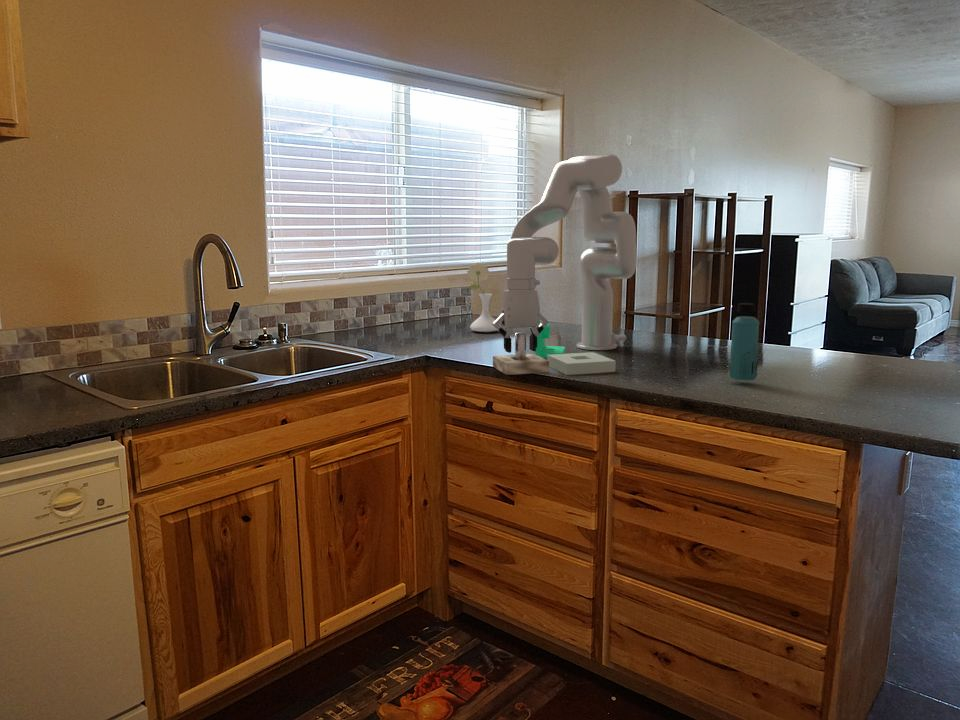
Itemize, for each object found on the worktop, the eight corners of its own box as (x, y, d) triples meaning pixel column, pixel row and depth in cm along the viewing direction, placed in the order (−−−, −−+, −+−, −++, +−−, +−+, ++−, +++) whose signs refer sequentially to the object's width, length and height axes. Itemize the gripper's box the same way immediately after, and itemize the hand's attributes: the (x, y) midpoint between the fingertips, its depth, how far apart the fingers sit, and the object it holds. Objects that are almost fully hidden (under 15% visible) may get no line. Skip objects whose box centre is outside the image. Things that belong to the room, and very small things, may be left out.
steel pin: (523, 368, 206) (523, 332, 204) (527, 370, 203) (527, 333, 201) (513, 368, 205) (513, 332, 203) (517, 370, 202) (517, 334, 200)
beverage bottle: (753, 387, 180) (758, 305, 176) (725, 384, 184) (729, 303, 180) (759, 382, 186) (764, 302, 182) (731, 379, 189) (736, 301, 185)
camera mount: (561, 362, 215) (562, 326, 213) (535, 361, 216) (535, 326, 214) (565, 355, 226) (565, 321, 224) (540, 354, 228) (540, 320, 226)
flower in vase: (505, 330, 276) (506, 262, 272) (493, 334, 266) (493, 264, 261) (473, 328, 282) (473, 261, 277) (460, 332, 271) (460, 263, 267)
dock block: (592, 362, 213) (593, 352, 212) (615, 371, 200) (615, 360, 199) (547, 365, 209) (547, 354, 209) (566, 375, 196) (567, 363, 195)
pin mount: (533, 364, 211) (533, 353, 211) (549, 372, 200) (549, 361, 199) (492, 366, 208) (492, 355, 207) (506, 374, 196) (506, 363, 196)
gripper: (545, 283, 206) (545, 347, 209) (485, 284, 201) (486, 350, 204) (556, 285, 198) (555, 351, 202) (494, 287, 194) (494, 355, 197)
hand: (520, 350), depth 203 cm, fingers open, 6 cm apart
